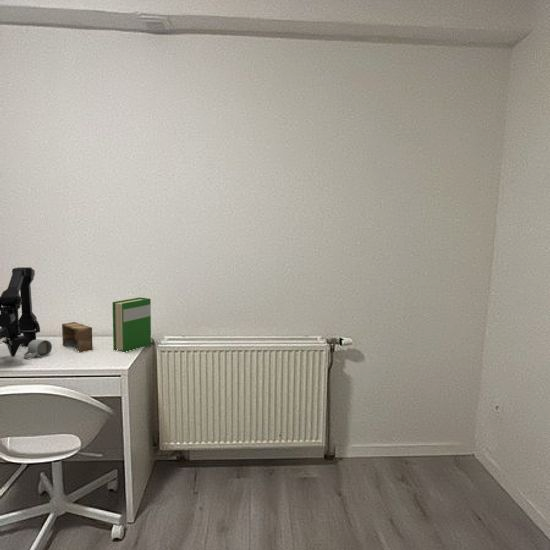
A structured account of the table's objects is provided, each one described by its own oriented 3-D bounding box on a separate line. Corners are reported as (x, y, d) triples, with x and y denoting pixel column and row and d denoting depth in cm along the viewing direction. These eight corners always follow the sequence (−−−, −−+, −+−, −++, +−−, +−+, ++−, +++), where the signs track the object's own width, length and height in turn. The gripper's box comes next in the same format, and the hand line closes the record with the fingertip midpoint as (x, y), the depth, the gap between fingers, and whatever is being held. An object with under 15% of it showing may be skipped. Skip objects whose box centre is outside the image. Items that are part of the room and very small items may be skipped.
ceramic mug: (41, 352, 203) (40, 336, 202) (52, 354, 199) (51, 338, 198) (19, 358, 193) (18, 341, 192) (31, 360, 190) (30, 344, 189)
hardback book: (124, 352, 204) (123, 303, 202) (113, 350, 208) (112, 302, 205) (151, 344, 219) (150, 298, 217) (140, 342, 223) (140, 297, 220)
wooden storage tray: (62, 345, 214) (61, 323, 213) (74, 343, 219) (74, 321, 218) (80, 352, 203) (79, 329, 202) (92, 349, 208) (91, 327, 206)
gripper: (-18, 321, 186) (-16, 356, 188) (-2, 328, 175) (0, 365, 176) (10, 317, 195) (12, 350, 196) (27, 324, 183) (28, 359, 185)
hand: (12, 356), depth 188 cm, fingers closed
